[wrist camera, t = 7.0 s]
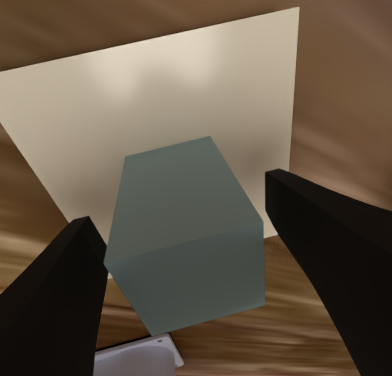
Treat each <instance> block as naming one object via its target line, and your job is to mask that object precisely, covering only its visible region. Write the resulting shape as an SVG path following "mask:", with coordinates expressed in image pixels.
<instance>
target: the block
mask: <svg viewBox="0 0 392 376" xmlns="http://www.w3.org/2000/svg"><path fill="white" fill-rule="evenodd" d="M104 265H105V267H106V268H107V270H108V271H109V273H110V274H111V276H112V277H113V279H114V280H115V282H116V283H117V285H118V286H119V288H120V289H121V291H122V292H123V294H124V295H125V297H126V298H127V300H128V301H129V303H130V304H131V306H132V307H133V309H134V310H135V312H136V313H137V315H138V316H139V318H140V319H141V321H142V322H143V324H144V325H145V327H146V328H147V330H148V331H149V333H150V334H151V336H155V335H159V334H163V333H166V332H170V331H173V330H177V329H181V328H184V327H188V326H192V325H195V324H199V323H202V322H206V321H210V320H213V319H217V318H220V317H224V316H228V315H231V314H235V313H239V312H242V311H246V310H249V309H253V308H257V307H260V306H264V305H265V275H264V222H263V220H262V218H261V217H260V215H259V214H258V212H257V210H256V209H255V207H254V206H253V204H252V202H251V201H250V199H249V198H248V196H247V194H246V193H245V191H244V190H243V188H242V186H241V185H240V183H239V182H238V180H237V178H236V177H235V175H234V174H233V172H232V170H231V169H230V167H229V166H228V164H227V162H226V161H225V159H224V158H223V156H222V154H221V153H220V151H219V150H218V148H217V146H216V145H215V143H214V141H213V140H212V138H211V137H210V136H207V137H203V138H199V139H195V140H191V141H187V142H183V143H178V144H174V145H170V146H166V147H162V148H158V149H154V150H150V151H146V152H142V153H137V154H133V155H129V156H125V160H124V165H123V170H122V175H121V180H120V185H119V190H118V195H117V200H116V205H115V209H114V214H113V219H112V224H111V229H110V234H109V239H108V244H107V249H106V254H105V259H104Z"/></svg>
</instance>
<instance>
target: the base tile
mask: <svg viewBox="0 0 392 376" xmlns="http://www.w3.org/2000/svg"><path fill="white" fill-rule="evenodd" d="M298 21H299V7H296V8H291V9H286V10H281V11H277V12H272V13H267V14H263V15H258V16H254V17H249V18H244V19H240V20H235V21H231V22H226V23H222V24H217V25H212V26H208V27H203V28H199V29H194V30H189V31H185V32H180V33H176V34H171V35H167V36H162V37H157V38H153V39H148V40H144V41H139V42H134V43H130V44H125V45H121V46H116V47H112V48H107V49H102V50H98V51H93V52H89V53H84V54H80V55H75V56H70V57H66V58H61V59H57V60H52V61H47V62H43V63H38V64H34V65H29V66H25V67H20V68H15V69H11V70H6V71H2V72H0V123H1V124H2V126H3V127H4V128H5V130H6V131H7V133H8V134H9V136H10V137H11V139H12V140H13V142H14V143H15V145H16V146H17V148H18V149H19V150H20V152H21V153H22V155H23V156H24V158H25V159H26V161H27V162H28V164H29V165H30V167H31V168H32V169H33V171H34V172H35V174H36V175H37V177H38V178H39V180H40V181H41V183H42V184H43V186H44V187H45V188H46V190H47V191H48V193H49V194H50V196H51V197H52V199H53V200H54V202H55V203H56V205H57V206H58V208H59V209H60V210H61V212H62V213H63V215H64V216H65V218H66V219H67V221H68V222H69V223H70V222H71V221H72V220H73V219H77V218H81V217H85V216H89V217H90V218H91V220H92V222H93V223H94V225H95V227H96V228H97V230H98V232H99V233H100V235H101V237H102V238H103V240H104V242H105V243H106V245H107V244H108V239H109V234H110V229H111V224H112V219H113V214H114V209H115V205H116V200H117V195H118V190H119V185H120V180H121V175H122V170H123V165H124V160H125V156H129V155H133V154H137V153H142V152H146V151H150V150H154V149H158V148H162V147H166V146H170V145H174V144H178V143H183V142H187V141H191V140H195V139H199V138H203V137H207V136H210V137H211V138H212V140H213V141H214V143H215V145H216V146H217V148H218V150H219V151H220V153H221V154H222V156H223V158H224V159H225V161H226V162H227V164H228V166H229V167H230V169H231V170H232V172H233V174H234V175H235V177H236V178H237V180H238V182H239V183H240V185H241V186H242V188H243V190H244V191H245V193H246V194H247V196H248V198H249V199H250V201H251V202H252V204H253V206H254V207H255V209H256V210H257V212H258V214H259V215H260V217H261V218H262V220H263V222H264V238H267V237H271V236H274V235H278V233H277V232H276V230H275V229H274V227H273V225H272V223H271V221H270V219H269V217H268V215H267V213H266V211H265V172H266V171H270V170H274V169H278V168H280V169H283V170H285V171H288V172H289V160H290V145H291V129H292V114H293V98H294V83H295V68H296V52H297V37H298ZM109 278H113V277H112V276H111V274H110V273H108V279H109Z"/></svg>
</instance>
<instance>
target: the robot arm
mask: <svg viewBox="0 0 392 376" xmlns="http://www.w3.org/2000/svg"><path fill="white" fill-rule="evenodd" d="M265 211H266V213H267V215H268V217H269V219H270V221H271V223H272V225H273V227H274V229H275V230H276V232H277V233H278V235H279V236H280V238H281V239H282V241H283V242H284V244H285V245H286V247H287V248H288V249H289V251H290V252H291V254H292V255H293V257H294V258H295V259H296V261H297V262H298V264H299V265H300V267H301V268H302V270H303V271H304V272H305V274H306V275H307V277H308V278H309V280H310V282H311V283H312V285H313V286H314V288H315V290H316V292H317V293H318V295H319V297H320V299H321V300H322V302H323V304H324V306H325V308H326V309H327V311H328V313H329V315H330V317H331V319H332V320H333V322H334V324H335V326H336V328H337V330H338V332H339V334H340V335H341V337H342V339H343V341H344V343H345V345H346V347H347V349H348V351H349V353H350V355H351V357H352V359H353V361H354V363H355V365H356V367H357V369H358V371H359V373H360V375H361V376H392V211H389V210H386V209H382V208H379V207H376V206H373V205H370V204H367V203H364V202H361V201H358V200H356V199H353V198H350V197H348V196H345V195H342V194H340V193H337V192H335V191H332V190H330V189H327V188H325V187H322V186H320V185H318V184H315V183H313V182H311V181H308V180H306V179H304V178H302V177H299V176H297V175H295V174H292V173H290V172H288V171H285V170H283V169H280V168H278V169H274V170H270V171H266V172H265ZM106 249H107V245H106V243H105V242H104V240H103V238H102V237H101V235H100V233H99V232H98V230H97V228H96V227H95V225H94V223H93V222H92V220H91V218H90V217H89V216H85V217H81V218H77V219H73V220H72V221H71V222H70V223H69V224H68V225H67V226H66V227H65V228H64V229H63V230H62V231H61V232H60V233H59V234H58V235H57V237H56V238H55V239H54V240H53V241H52V242H51V243H50V244H49V245H48V246H47V247H46V248H45V249H44V251H43V252H42V253H41V254H40V255H39V256H38V257H37V258H36V259H35V260H34V261H33V262H32V263H31V264H30V265H29V266H28V267H27V268H26V269H25V270H24V271H23V272H22V273H21V274H20V275H19V276H18V277H17V278H16V279H15V281H14V282H13V283H12V284H11V285H10V286H9V287H8V288H7V289H6V290H5V291H4V292H3V293H1V294H0V376H176V367H179V366H182V365H183V364H184V362H183V359H182V357H181V355H180V353H179V351H178V350H177V348H176V346H175V344H174V342H173V341H172V339H171V337H170V335H169V334H168V333H164V334H160V335H156V336H153V337H149V338H145V339H142V340H138V341H134V342H131V343H127V344H123V345H120V346H116V347H112V348H109V349H105V350H101V351H98V352H95V349H96V341H97V334H98V328H99V323H100V318H101V312H102V307H103V301H104V296H105V291H106V285H107V279H108V273H109V271H108V270H107V268H106V267H105V265H104V259H105V254H106Z"/></svg>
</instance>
